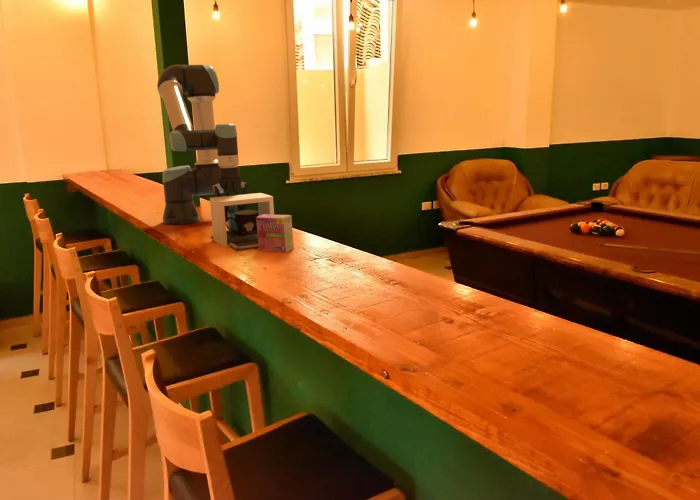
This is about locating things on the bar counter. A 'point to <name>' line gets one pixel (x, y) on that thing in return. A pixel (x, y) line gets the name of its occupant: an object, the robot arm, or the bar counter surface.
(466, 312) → the bar counter surface
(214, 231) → the tunnel
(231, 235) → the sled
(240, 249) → the dark slate tile
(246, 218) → the coffee mug
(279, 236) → the box
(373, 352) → the bar counter surface
